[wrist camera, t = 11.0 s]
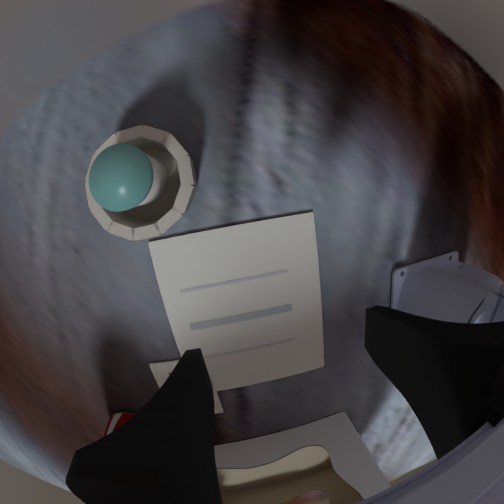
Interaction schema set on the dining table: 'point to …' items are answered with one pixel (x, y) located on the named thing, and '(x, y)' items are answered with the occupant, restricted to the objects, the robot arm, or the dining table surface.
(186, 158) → the pen cup
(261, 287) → the paper
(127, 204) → the marker
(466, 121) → the dining table surface
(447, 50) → the dining table surface
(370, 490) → the gable box
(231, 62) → the dining table surface
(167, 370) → the word card
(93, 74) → the dining table surface
